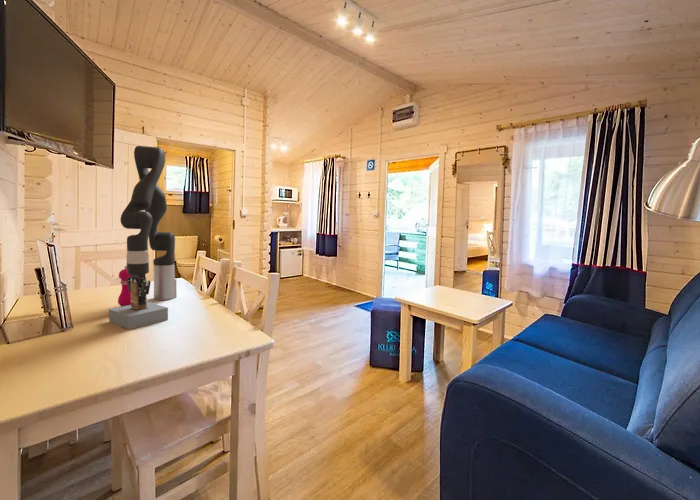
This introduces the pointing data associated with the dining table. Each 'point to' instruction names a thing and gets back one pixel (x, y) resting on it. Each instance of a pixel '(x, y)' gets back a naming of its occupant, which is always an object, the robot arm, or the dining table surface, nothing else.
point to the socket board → (138, 315)
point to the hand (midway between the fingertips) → (138, 303)
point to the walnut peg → (136, 297)
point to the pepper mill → (124, 289)
